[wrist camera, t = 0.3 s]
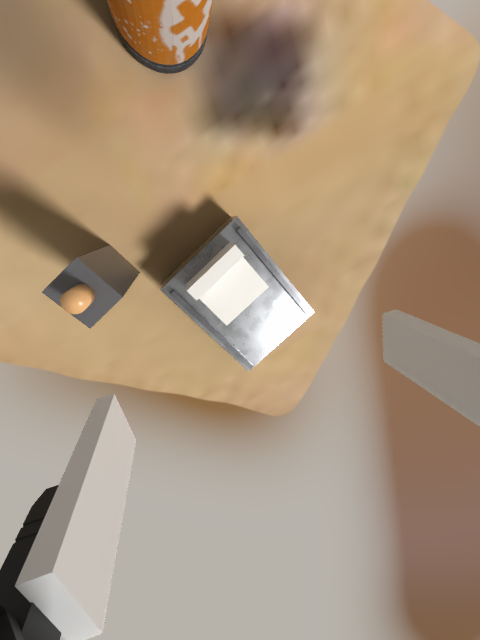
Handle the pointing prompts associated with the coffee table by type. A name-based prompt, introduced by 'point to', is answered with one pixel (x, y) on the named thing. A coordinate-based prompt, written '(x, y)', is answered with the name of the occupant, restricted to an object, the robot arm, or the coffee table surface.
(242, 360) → the socket
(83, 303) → the plug
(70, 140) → the coffee table surface
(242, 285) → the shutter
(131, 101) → the coffee table surface
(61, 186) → the coffee table surface
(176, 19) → the canister
